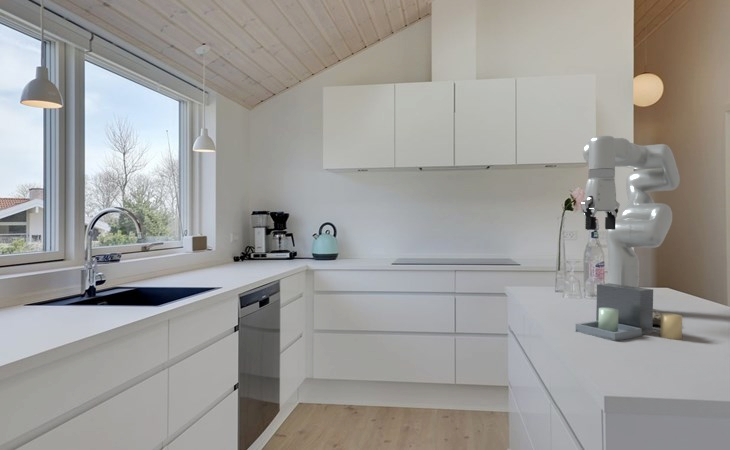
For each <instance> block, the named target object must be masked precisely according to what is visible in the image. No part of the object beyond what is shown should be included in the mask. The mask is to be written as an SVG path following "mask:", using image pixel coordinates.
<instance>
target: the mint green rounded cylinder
mask: <svg viewBox="0 0 730 450" xmlns="http://www.w3.org/2000/svg"><path fill="white" fill-rule="evenodd" d="M618 312H619V310H617V309H613V308H599V322H598V329H602V330H606V331H611V332H618Z"/></svg>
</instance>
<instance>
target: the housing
mask: <svg viewBox="0 0 730 450" xmlns="http://www.w3.org/2000/svg"><path fill="white" fill-rule="evenodd" d="M599 308H613V309H617V310H619V312H618V324H623V325H627V326H632V327H636V328H641V329H642V335H647V334H654V333H656V332H657V329H655V328H653V325H654V324H653V309H654V289H651V288H646V287H632V286H625V285H618V284H611V283H608V282H607V283H599V284H598V283H597V284H596V313H595V314H596V316H595V317H596V320H595V321H599Z"/></svg>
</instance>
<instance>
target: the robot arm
mask: <svg viewBox="0 0 730 450" xmlns="http://www.w3.org/2000/svg"><path fill="white" fill-rule="evenodd" d="M582 156H583V159H584V161H586V163H587V164H588V178H587V180H586V184H585V190H584V199H583V201H582V202H581V208H582V212H583V216H584V218H585V226H584V227H585V230H590V231H591V230H594V231H595V230H596V228H597V227H596V226H597V217H596V214H597V212H604V213H605V217H604V220H605V222H604V228H605V238H606V243H607V245H606V246H607V284H608V283H611V284H618V285H625V286H632V287H639V286H640V259H639V256H638V255H637V253H636V252H635V251H634V249H633V248H643V249H644V248H647V249H655V248H658V247H660V246H661V245H662V244H663V242H664V241H665V238H666V236H667V234H668V232H669V231H670V228H671V225H672V223H673V212H672V209H671V207H670V205H668V204H667V203H660V202H655V201H654V199H653V198H652V197H651V195H649V193H647V192H665V191H666V192H670V191H674V190H676V189H677V188H678V187H679V185H680V181H681V179H680V178H681V177H680V173H679V169H678V166H677V163H676V159H675V156H674V153H673V151H672V149H671V147H670V146H669V145H667V144H664V143H660V144H659V143H657V144H649V145H648V144H647V145H640V144H636V143H634V142H631V141H629V140H628V139H627V138H623V137H614V136H611V135H598V136H594V137H591V138H590V139H589V142H587V143H585V145H584V147H583V149H582ZM616 167H617V168H618V167H619V168H629V169H632V170H633V171H631V172H629V174H627V177H626V179H625V189H626V195H627V199H628V201H627V203H626V204H625V205H624V207H623V209H622V211H621V212H620V214H619V219H616V218H617V217H618V212H619V208H620V205H621V204H620V203H619V202H618V201H617V189H616V188H617V187H616V181H615V180H616ZM639 288H640V287H639Z"/></svg>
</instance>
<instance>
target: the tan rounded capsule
mask: <svg viewBox="0 0 730 450" xmlns="http://www.w3.org/2000/svg"><path fill="white" fill-rule="evenodd" d="M659 335H660V337H661V338H664V339H669V340H677V341H678V340H679V341H680V340H682V339H683V315H682V314H678V313H677V314H676V313H667V312H666V313H665V312H664V313H661V326H660V334H659Z"/></svg>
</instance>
